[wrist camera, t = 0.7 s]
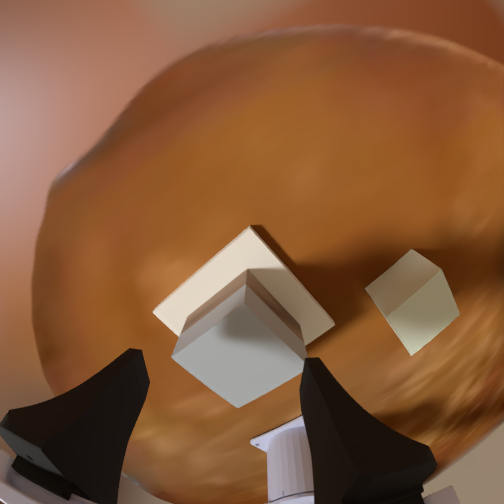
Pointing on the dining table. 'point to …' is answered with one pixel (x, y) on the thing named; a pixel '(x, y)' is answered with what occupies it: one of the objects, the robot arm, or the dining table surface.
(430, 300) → the sage block
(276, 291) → the cream board
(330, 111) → the dining table surface
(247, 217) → the dining table surface
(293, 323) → the walnut slab
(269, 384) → the light grey flat block
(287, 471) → the robot arm
